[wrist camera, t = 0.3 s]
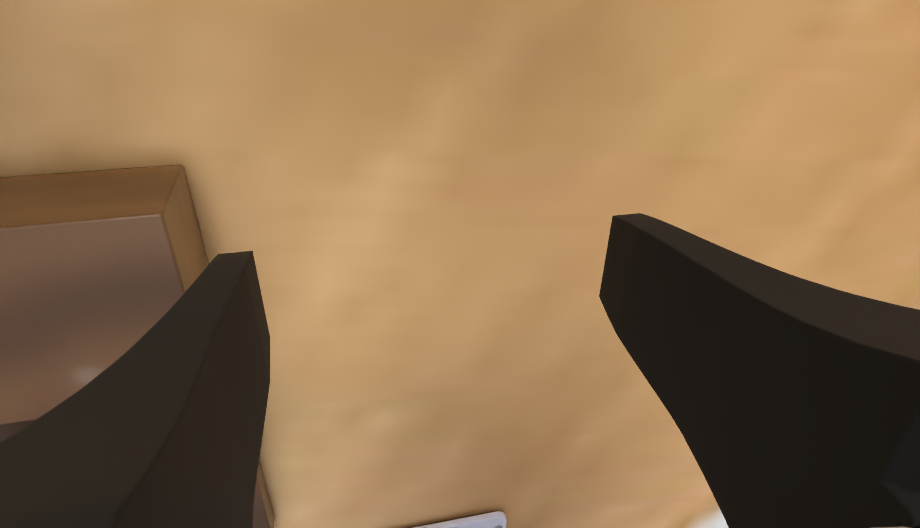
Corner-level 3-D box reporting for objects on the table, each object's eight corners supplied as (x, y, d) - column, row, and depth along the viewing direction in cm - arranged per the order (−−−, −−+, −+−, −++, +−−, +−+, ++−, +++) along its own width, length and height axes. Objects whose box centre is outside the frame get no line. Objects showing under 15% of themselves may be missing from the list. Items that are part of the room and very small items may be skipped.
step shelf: (274, 519, 30) (271, 589, 27) (5, 567, 28) (-31, 650, 25) (183, 163, 20) (161, 213, 17) (-255, 195, 18) (-367, 260, 15)
